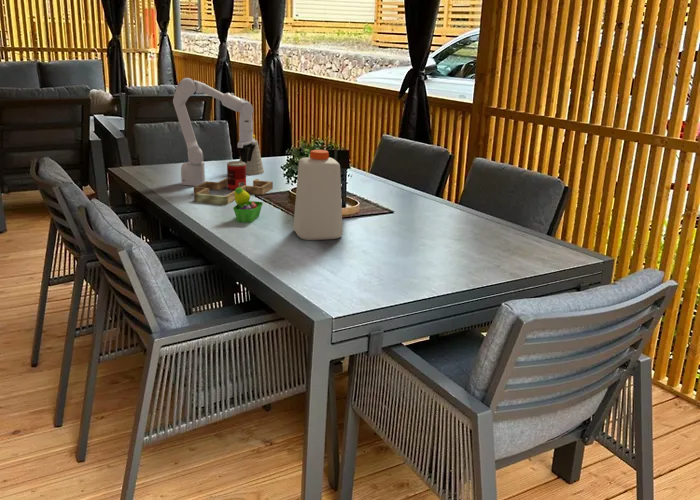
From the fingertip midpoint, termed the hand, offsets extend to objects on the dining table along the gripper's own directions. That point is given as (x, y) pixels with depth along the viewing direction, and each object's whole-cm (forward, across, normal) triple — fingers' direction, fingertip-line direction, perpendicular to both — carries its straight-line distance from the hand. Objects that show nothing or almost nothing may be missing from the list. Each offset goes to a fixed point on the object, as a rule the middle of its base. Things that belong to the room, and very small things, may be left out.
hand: (246, 161), depth 286 cm
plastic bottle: (+10, -61, -50) cm, 79 cm away
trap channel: (+9, -20, -1) cm, 22 cm away
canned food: (+10, -11, 0) cm, 15 cm away
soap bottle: (+10, +22, +7) cm, 25 cm away
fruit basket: (+10, -52, -21) cm, 57 cm away
